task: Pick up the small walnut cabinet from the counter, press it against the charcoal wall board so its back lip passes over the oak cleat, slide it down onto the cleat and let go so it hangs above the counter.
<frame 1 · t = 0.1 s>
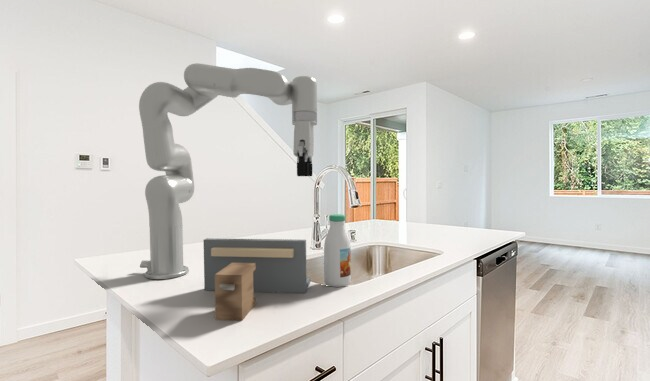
hand: (305, 176, 102), 31 cm above the worktop, tool pointing down, fingers open, 9 cm apart
cabinet: (235, 312, 77), on the worktop
wall board: (255, 290, 92), on the worktop
milk bottle: (337, 284, 98), on the worktop
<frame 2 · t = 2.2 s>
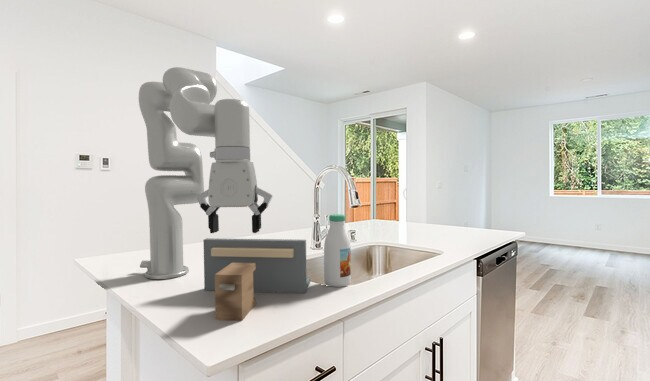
hand: (235, 232, 76), 19 cm above the worktop, tool pointing down, fingers open, 9 cm apart
nothing on the worktop moved.
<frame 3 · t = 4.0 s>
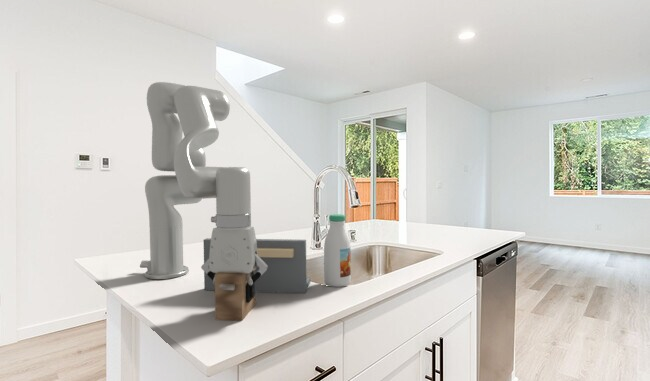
hand: (235, 299, 77), 3 cm above the worktop, tool pointing down, fingers closed on cabinet, 6 cm apart
cabinet: (235, 312, 77), on the worktop, touching gripper
everything else where it was.
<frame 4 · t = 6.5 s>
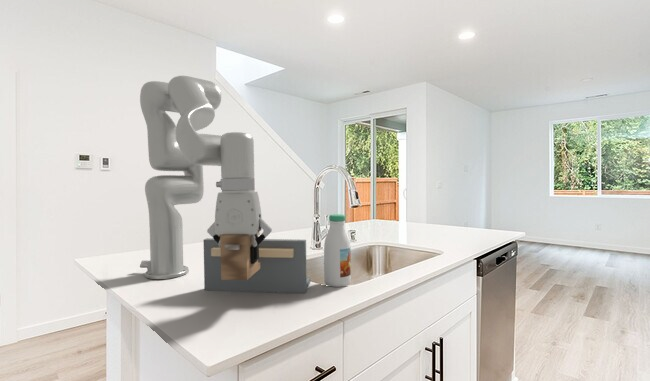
hand: (240, 261, 79), 11 cm above the worktop, tool pointing down, fingers closed on cabinet, 6 cm apart
cabinet: (240, 274, 79), point 8 cm above the worktop, touching gripper
everything else where it was.
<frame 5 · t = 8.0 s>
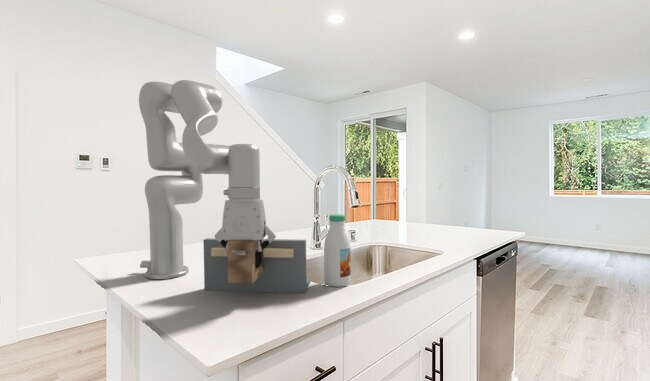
hand: (245, 265, 84), 9 cm above the worktop, tool pointing down, fingers closed on cabinet, 6 cm apart
cabinet: (245, 278, 84), point 6 cm above the worktop, touching gripper
everything else where it was.
when the fingers open (7 cm above the worktop, at t = 9.2 s): cabinet stays where it is, resting on wall board.
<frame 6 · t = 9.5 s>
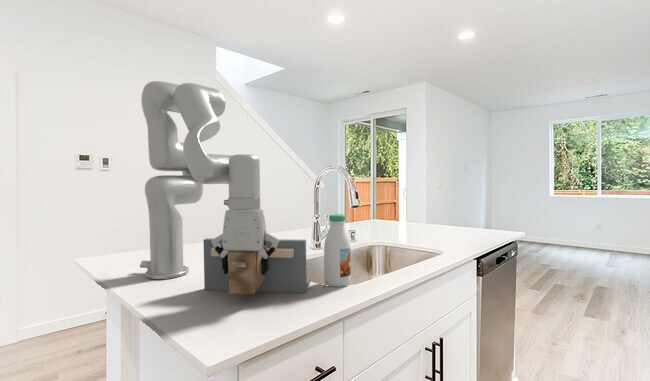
hand: (245, 272, 84), 7 cm above the worktop, tool pointing down, fingers open, 9 cm apart
cabinet: (246, 287, 85), point 3 cm above the worktop, touching wall board
everything else where it was.
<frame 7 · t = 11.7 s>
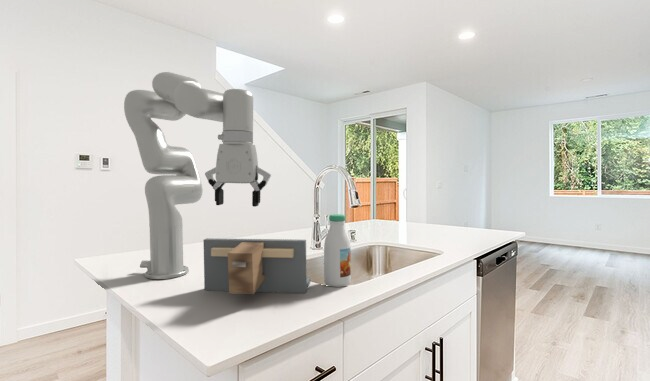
hand: (237, 205, 88), 24 cm above the worktop, tool pointing down, fingers open, 9 cm apart
nothing on the worktop moved.
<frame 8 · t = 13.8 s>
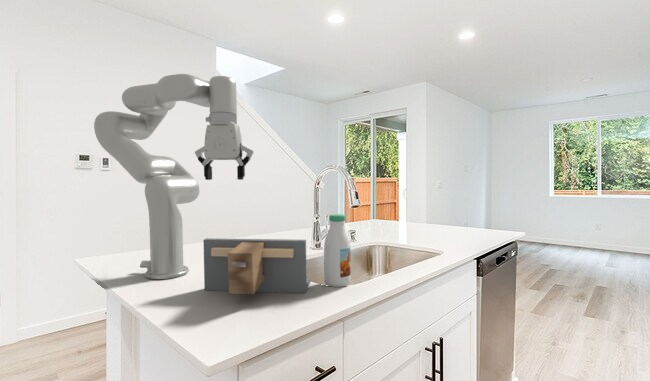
hand: (224, 179, 99), 30 cm above the worktop, tool pointing down, fingers open, 9 cm apart
nothing on the worktop moved.
at the end: cabinet inside the target area on the wall board (0.5 cm from its centre), point 3.2 cm above the wall board's base; cabinet tilted 4°; the gripper is holding nothing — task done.
